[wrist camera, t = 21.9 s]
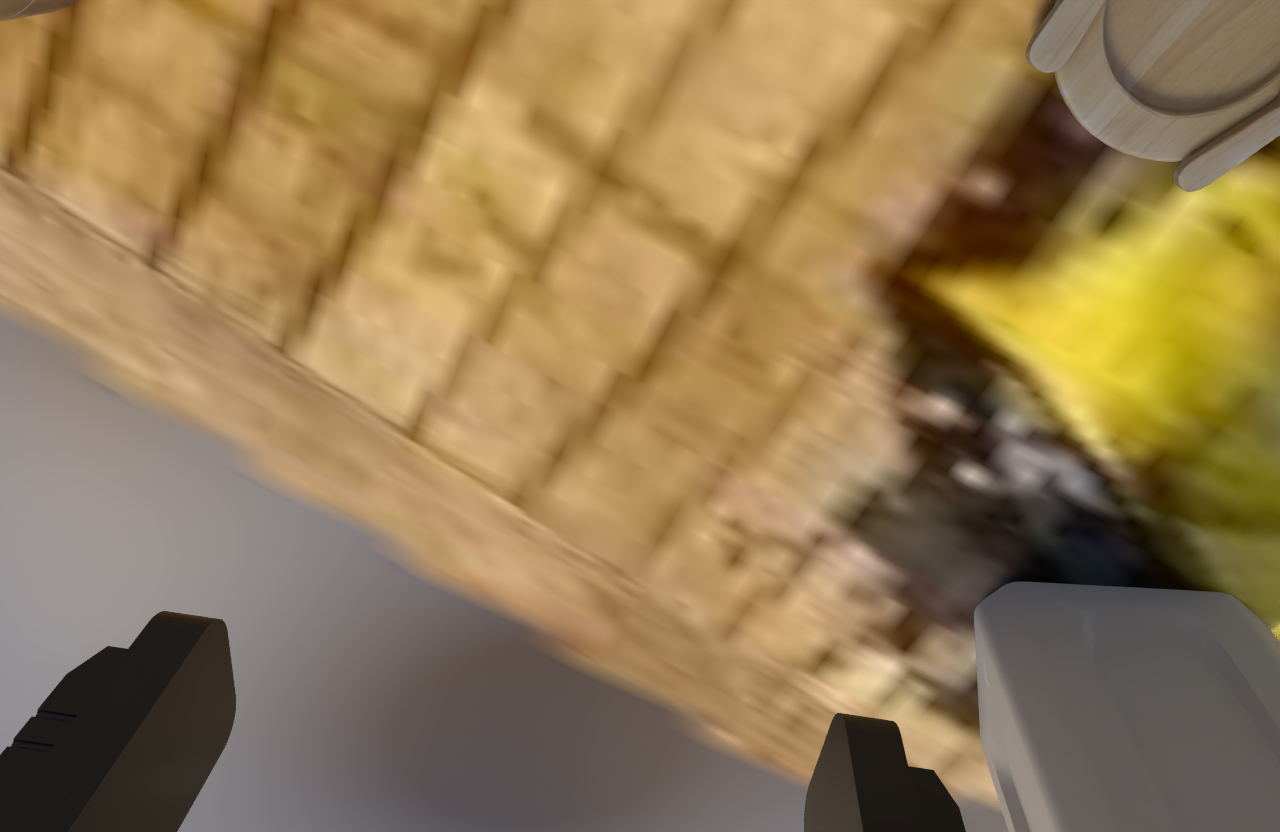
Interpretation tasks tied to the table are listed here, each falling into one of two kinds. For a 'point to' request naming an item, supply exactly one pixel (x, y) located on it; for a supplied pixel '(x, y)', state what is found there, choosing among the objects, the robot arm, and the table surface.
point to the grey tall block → (1128, 709)
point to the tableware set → (1168, 77)
